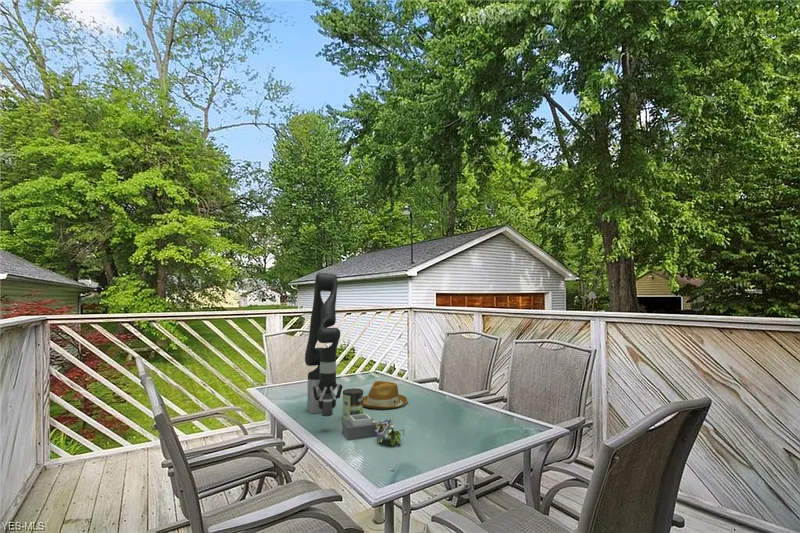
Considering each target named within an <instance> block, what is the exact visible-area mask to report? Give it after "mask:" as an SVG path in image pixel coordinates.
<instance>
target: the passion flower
mask: <svg viewBox="0 0 800 533" xmlns="http://www.w3.org/2000/svg"><path fill="white" fill-rule="evenodd" d="M393 420H394V418H393V417H390V419H385V420H384V421H382V420H380V421H378V422H377V423H378V424H377V426H376V430H375V431H376V434H377V436H376V438H377V440H378V441H377V443H378V444H380V443H383V442H384V440H385V438H388V439H390V444H391V447H393V448H395V445H396V443H397V445H400V442H401V436H402V435H401V433H400V432H402V434H403V436H405V435H406V434H405V429H401V430H394V428H395V427H396V424H395V423H393Z"/></svg>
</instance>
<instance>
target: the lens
mask: <svg viewBox="0 0 800 533" xmlns="http://www.w3.org/2000/svg"><path fill="white" fill-rule="evenodd" d="M333 409H334V408H333V396H332V393H325V394H324V396H323V398H322V409H321V414H320V415H321V416H322V417H331V416H332V415H333Z"/></svg>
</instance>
